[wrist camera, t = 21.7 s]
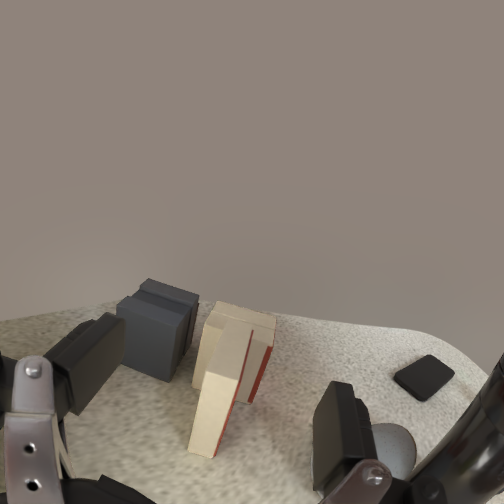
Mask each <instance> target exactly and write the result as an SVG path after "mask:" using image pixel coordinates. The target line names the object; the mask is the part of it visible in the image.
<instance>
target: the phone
mask: <svg viewBox="0 0 504 504" xmlns="http://www.w3.org/2000/svg"><path fill="white" fill-rule="evenodd" d="M454 374H455V372H454V371H453V370H452V369H451V368H449V367H448V366H447V365H445V364H444V363H442V362H441V361H440V360H438V359H437V358H435V357H434V356H432V355H426V356H424V357H423V358H421V359H419V360H418V361H416V362H414V363H412V364H411V365H409V366H407V367H405V368H403V369H402V370H400V371H398V372H396V373H395V375H394V379H395V381H396V382H398V383H399V384H400V385H401V386H402V387H404V388H405V389H406V390H407V391H409V392H410V393H411V394H412V395H414V396H415V397H416V398H417V399H419V400H421V401H426V400H428V399H429V398H430V397H431V396H432V395H433V394H435V393H436V392H437V391H438V390H439V389H440V388H441V387H442V386H444V385H445V384H446V383H447V382H448V381H449V380H450V379H451V378H452V377H453V376H454Z"/></svg>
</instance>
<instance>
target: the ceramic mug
mask: <svg viewBox="0 0 504 504" xmlns="http://www.w3.org/2000/svg"><path fill="white" fill-rule="evenodd" d="M371 426H372V428H371V430H372V431H373V436H374V441H375V445H376V450H377V456H378V460H379V461H381V462H382V463H384V464H385V465H386V466H387V467H388V468H389V469H390V471H391V473H392V476H393V477H395V478H398V479H401V480H404V479H405V478H406V477H407V476H408V475H409V474H410V473H411V471H412V470H413V468H414V465H415V462H416V455H417V450H416V444H415V441H414V439H413V437H412V435H411V434H410V433H409V431H408V430H407V429H405V428H404V427H402V426H400V425H397V424H391V423H381V424H374V425H371ZM312 446H313V443H312ZM310 472H311V477H312V481H313V450H312V454H311V461H310ZM317 492H318V494H319V496H320V497H321V498H322V499H323V498H324V492H323V491H317Z"/></svg>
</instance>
